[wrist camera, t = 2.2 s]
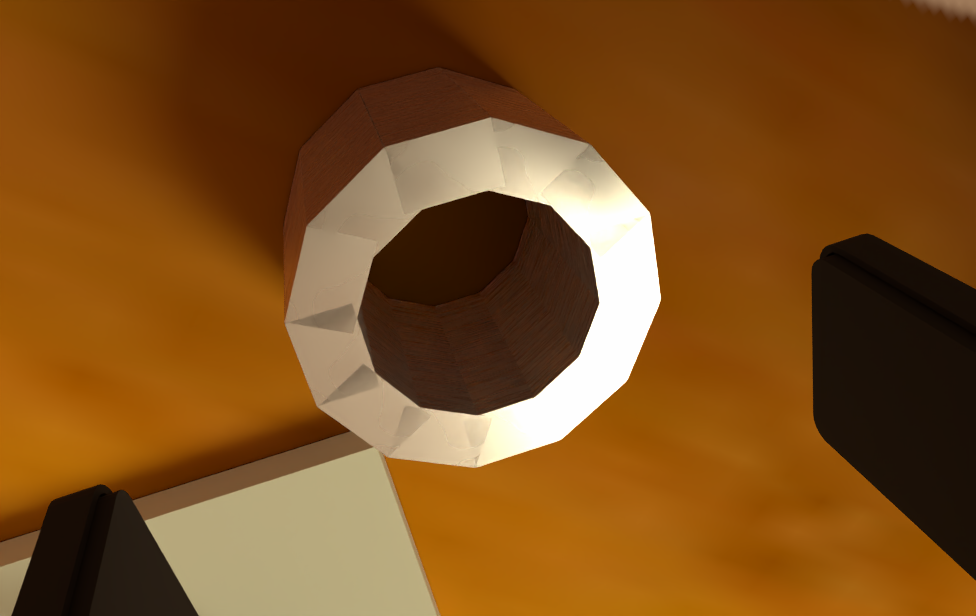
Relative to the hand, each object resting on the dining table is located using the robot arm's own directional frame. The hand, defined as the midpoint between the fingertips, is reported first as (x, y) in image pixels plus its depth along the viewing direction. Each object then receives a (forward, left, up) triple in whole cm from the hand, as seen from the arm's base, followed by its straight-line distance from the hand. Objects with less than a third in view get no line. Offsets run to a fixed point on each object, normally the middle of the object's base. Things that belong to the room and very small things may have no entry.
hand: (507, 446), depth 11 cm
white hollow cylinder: (-1, 0, -9) cm, 9 cm away
